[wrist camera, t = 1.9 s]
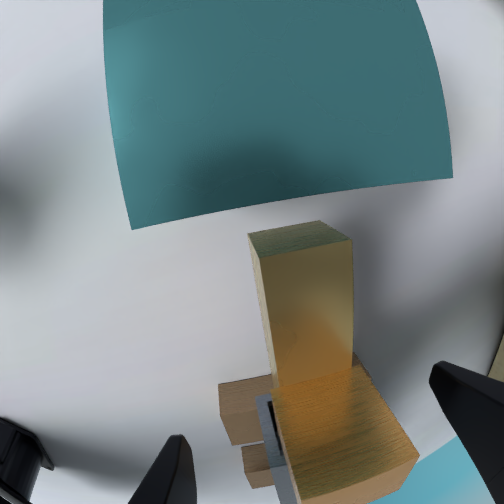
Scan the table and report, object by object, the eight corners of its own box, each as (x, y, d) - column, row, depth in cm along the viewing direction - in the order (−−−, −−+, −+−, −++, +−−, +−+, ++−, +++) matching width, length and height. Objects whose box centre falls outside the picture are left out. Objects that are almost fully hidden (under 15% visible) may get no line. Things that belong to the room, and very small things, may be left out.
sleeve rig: (344, 446, 19) (374, 511, 12) (250, 469, 18) (263, 541, 12) (324, 41, 10) (413, -32, 4) (145, 61, 10) (84, -25, 3)
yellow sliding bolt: (327, 481, 15) (352, 547, 9) (287, 491, 15) (306, 560, 9) (328, 218, 9) (475, 307, 3) (237, 235, 9) (286, 376, 3)
